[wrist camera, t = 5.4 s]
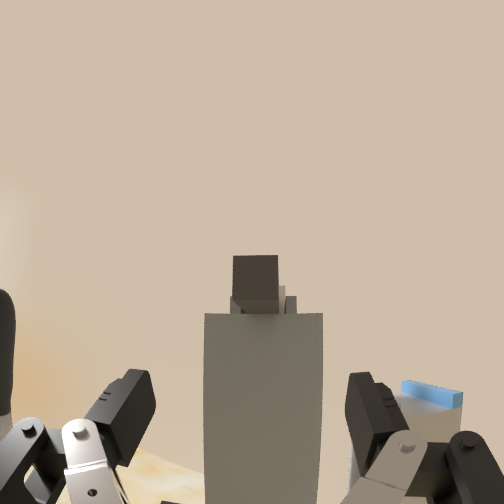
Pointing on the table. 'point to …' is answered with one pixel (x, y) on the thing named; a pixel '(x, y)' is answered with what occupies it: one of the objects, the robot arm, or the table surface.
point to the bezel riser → (422, 420)
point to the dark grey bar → (257, 284)
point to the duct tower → (262, 406)
